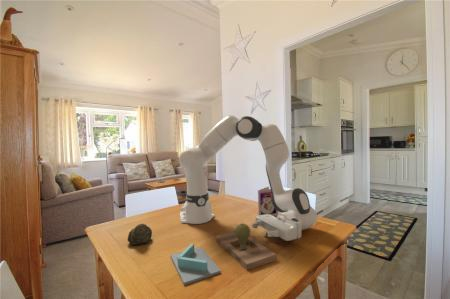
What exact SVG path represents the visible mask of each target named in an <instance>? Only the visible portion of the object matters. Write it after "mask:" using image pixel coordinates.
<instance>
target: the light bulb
mask: <svg viewBox="0 0 450 299" xmlns="http://www.w3.org/2000/svg"><path fill="white" fill-rule="evenodd" d="M235 231H236V235H237V237H238V239H239V242H240V245H239V247H240V249H241V251H244V250H247V249H248V248H247V247H248V246H247V245H248V243H247V240H248V237H249V236H251V235H250V234H251V229H250V227H249V225H248V224H246V223H239V224H238V225H237V226H236V228H235Z"/></svg>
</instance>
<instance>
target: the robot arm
mask: <svg viewBox="0 0 450 299" xmlns="http://www.w3.org/2000/svg"><path fill="white" fill-rule="evenodd" d="M236 136H238V137H240V138H242V139H243V140H246V141H250V142H254V141H258V142H259V143H260V145H261V148H262V151H263V153H264V155H265V171H266V172H265V173H266V176H267V179H268V184H269V189H271V193H272V203H273V206H274V208H275V209H276V210H277V211H278V216H272V215H270V214H265V215H259V214H258V215H256V217H255V222H252V224H251V226H252V228H253V229H258V227H261V228H263V229H264V230H266V231H265V236H266V237H269V238H271V237H276V238H277V237H278V238H280V239H282V240H283V241H289V242H290V241H295V240H297V239H300V238H302V231H303V230H306V229H309V228H311V227H313V226H314V225H315V224H316V223H317V221H318V214H317V212H316V210H315V209H314V208H313V207H312V206H311V204H310V200H309V197H308V196H309V195H308V194H307V192H306V191H305V190H303V189H302V188H300V187H299V188H297V187H296V188H291V189H288V190H286V189H284V187H283V182H282V179H281V174H280V172H281V168H282V167H283V166H284V165H285V164H286V163H287V161H288V159H289V157H290V151H289V148H288V144H287V142H286V140H285V138H284V135H283V133H282V132H281V130H280V129H279V127H278V125H276V124H273V123H269V124H266V125H263V124H262V123H261V122H259V120H258V119H255V118H254V117H252V116H249V115H246V116H242V117H240V118H238V117H236V116H235V115H232V114H230V115H227V116H225V117H224V118H222V119H221V120H220V121H219V122H217V123H216V124H215V125H214V126H213V127H212V128H211V129H210V130H208V132H206V134H204V136H203V138H202V139H201V141H200V142H199V143H198V145H196V146H194V147H190V148H187V149H185V150H183V151H182V152H181V153H180V155H179V157H178V162H179V165H180V166H181V167H182V169H183V172H184V177H185V181H186V182H185V183H186V196H185V202H184V203H183V206H181V207H180V212H179V218H180V222H181V224H191V225H198V224H199V225H201V224H204V223H205V224H206V223H208V222H210V221H211V220H212V219H213V218H215V214H214V213H213V208H212V202H211V201H210V200H209V199H210V194H209V192H208V178H207V176H206V173H205V168H204V167H205V166H206V165H207V164H208V163H209V162H210V161H211V160H212V159H213V158H214V157H215V156H216V155H217V154H218V152H219V151H221V150H222V149H223V148H224V147H225V146H226V145H227V144H228V143H229V142H231V140H232V139H234V138H235V137H236Z"/></svg>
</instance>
